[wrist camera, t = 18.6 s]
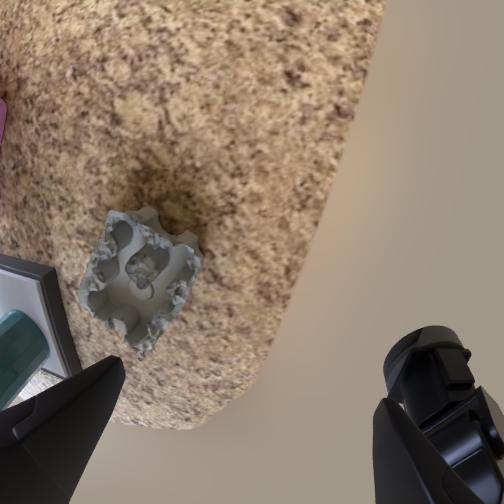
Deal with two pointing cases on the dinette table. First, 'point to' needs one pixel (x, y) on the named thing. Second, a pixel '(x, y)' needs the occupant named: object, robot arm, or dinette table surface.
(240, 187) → the dinette table surface
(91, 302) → the egg carton
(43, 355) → the tumbler
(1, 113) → the teakettle
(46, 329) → the scale
